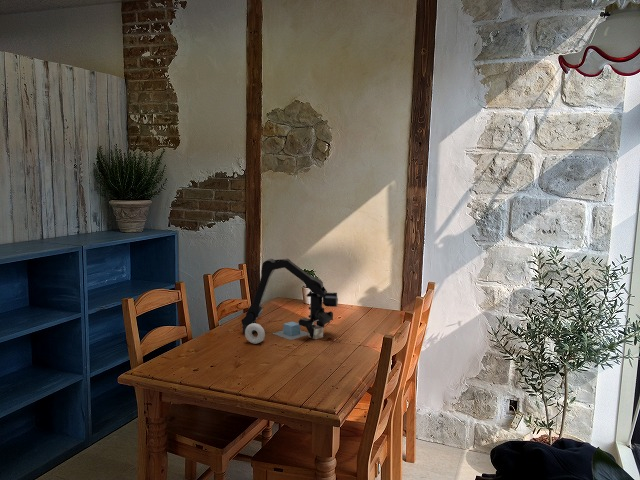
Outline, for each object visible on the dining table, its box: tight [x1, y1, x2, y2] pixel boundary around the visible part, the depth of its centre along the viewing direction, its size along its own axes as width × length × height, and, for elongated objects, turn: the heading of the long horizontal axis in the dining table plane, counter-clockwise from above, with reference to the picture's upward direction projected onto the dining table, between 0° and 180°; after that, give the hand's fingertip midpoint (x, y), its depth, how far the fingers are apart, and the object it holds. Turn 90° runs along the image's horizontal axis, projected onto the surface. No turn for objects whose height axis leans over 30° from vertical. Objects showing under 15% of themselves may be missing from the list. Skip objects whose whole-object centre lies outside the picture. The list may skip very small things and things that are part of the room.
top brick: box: [308, 324, 324, 340], centre depth 257 cm, size 5×5×6 cm
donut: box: [244, 322, 266, 345], centre depth 248 cm, size 10×3×10 cm, turn 73°
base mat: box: [271, 329, 309, 341], centre depth 262 cm, size 14×14×1 cm
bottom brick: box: [282, 321, 301, 336], centre depth 261 cm, size 6×6×5 cm
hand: (315, 336), depth 257 cm, fingers closed on top brick, 5 cm apart
